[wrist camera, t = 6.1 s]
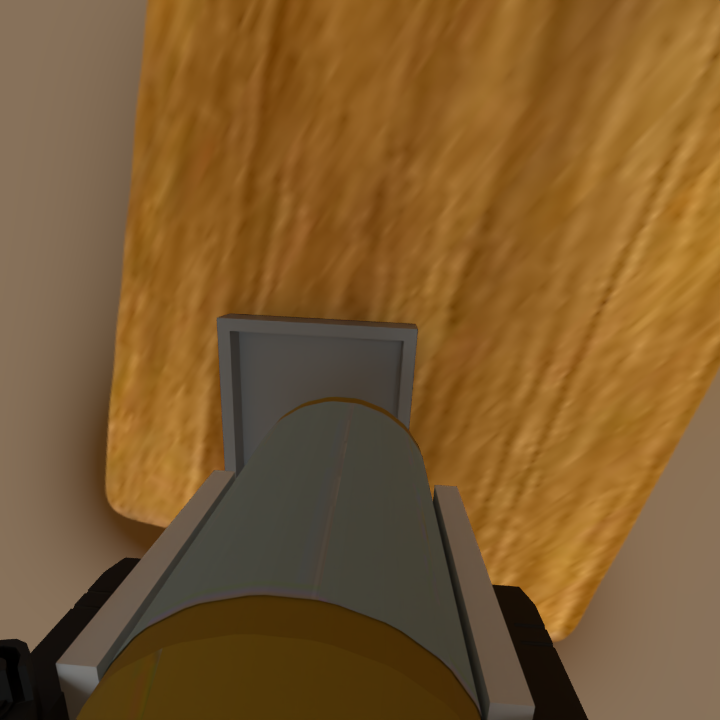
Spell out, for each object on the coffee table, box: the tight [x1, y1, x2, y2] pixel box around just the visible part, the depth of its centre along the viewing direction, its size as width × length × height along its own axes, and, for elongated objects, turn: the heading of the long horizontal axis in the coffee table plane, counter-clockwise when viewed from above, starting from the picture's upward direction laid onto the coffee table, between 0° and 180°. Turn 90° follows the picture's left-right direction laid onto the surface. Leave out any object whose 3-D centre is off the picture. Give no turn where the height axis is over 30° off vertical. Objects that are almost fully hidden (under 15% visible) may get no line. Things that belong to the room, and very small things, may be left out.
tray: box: [217, 314, 418, 478], centre depth 32 cm, size 16×16×2 cm
